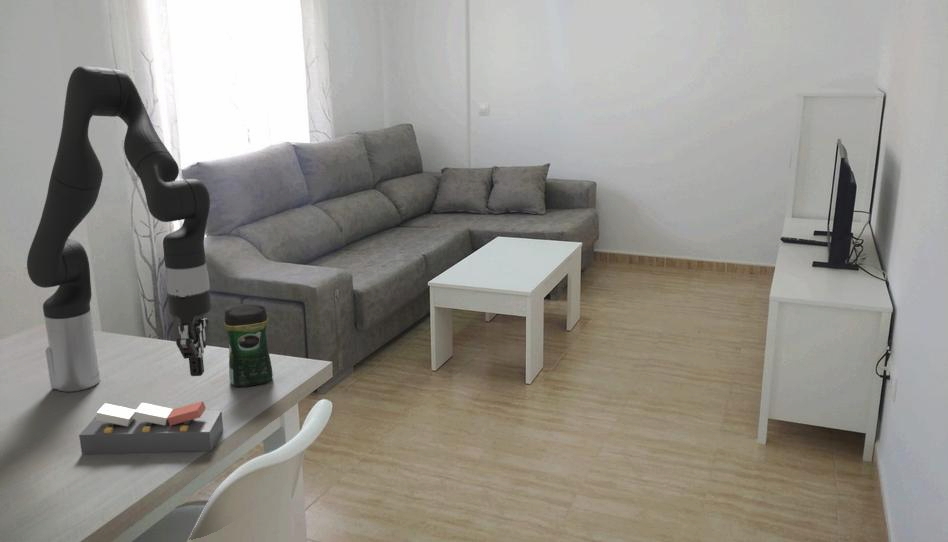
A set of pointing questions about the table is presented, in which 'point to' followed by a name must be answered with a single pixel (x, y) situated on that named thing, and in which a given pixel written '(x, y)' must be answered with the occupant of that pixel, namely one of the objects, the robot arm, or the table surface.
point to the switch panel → (152, 436)
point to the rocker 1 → (115, 414)
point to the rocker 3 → (186, 413)
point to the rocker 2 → (152, 413)
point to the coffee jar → (248, 344)
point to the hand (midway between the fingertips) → (197, 374)
